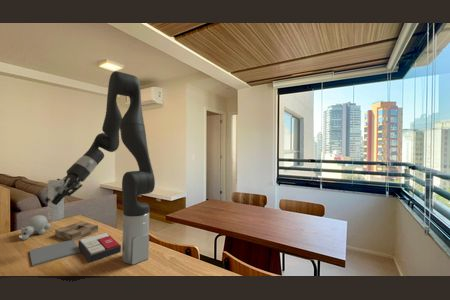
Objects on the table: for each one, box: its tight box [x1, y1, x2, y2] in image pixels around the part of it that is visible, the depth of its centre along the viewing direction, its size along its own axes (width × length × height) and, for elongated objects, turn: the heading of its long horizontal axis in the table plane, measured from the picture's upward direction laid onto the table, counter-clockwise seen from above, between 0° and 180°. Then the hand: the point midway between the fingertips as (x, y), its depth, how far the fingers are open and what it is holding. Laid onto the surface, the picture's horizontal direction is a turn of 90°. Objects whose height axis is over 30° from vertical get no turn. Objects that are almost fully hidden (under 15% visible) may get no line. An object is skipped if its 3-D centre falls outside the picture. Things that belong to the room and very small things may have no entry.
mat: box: [28, 240, 82, 268], centre depth 82 cm, size 14×14×1 cm
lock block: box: [54, 221, 99, 242], centre depth 98 cm, size 12×12×3 cm
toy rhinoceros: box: [18, 214, 52, 241], centre depth 95 cm, size 7×12×8 cm, turn 172°
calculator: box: [77, 232, 122, 263], centre depth 84 cm, size 11×4×15 cm
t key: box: [47, 179, 65, 222], centre depth 81 cm, size 6×4×15 cm, turn 69°
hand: (50, 202), depth 80 cm, fingers closed on t key, 3 cm apart
